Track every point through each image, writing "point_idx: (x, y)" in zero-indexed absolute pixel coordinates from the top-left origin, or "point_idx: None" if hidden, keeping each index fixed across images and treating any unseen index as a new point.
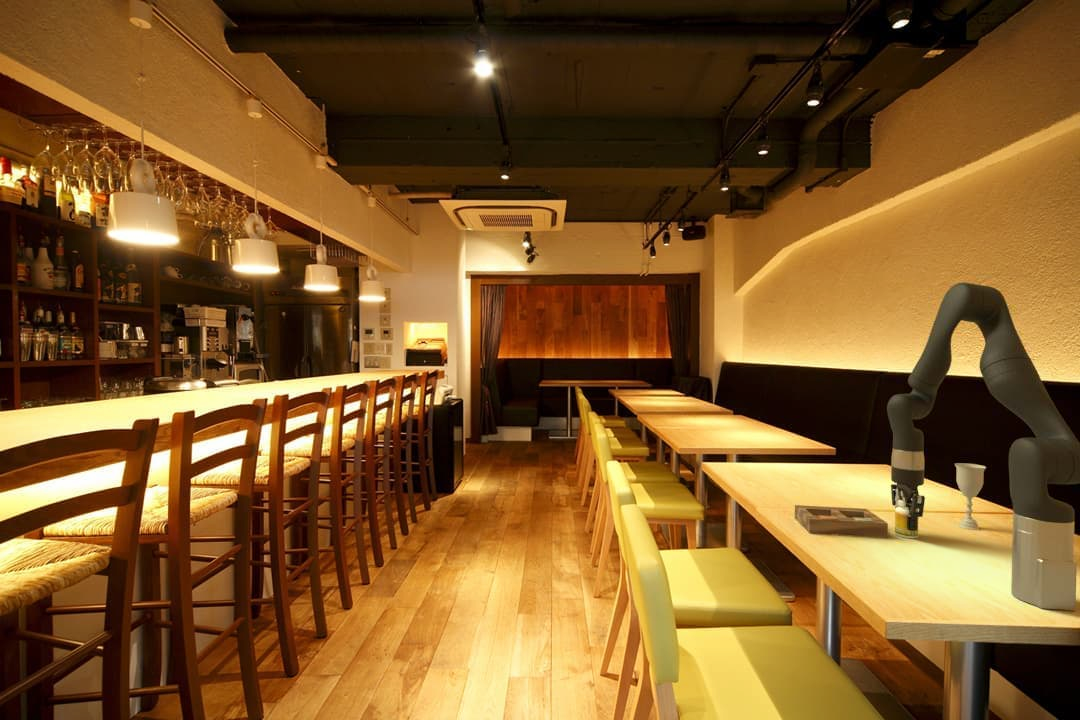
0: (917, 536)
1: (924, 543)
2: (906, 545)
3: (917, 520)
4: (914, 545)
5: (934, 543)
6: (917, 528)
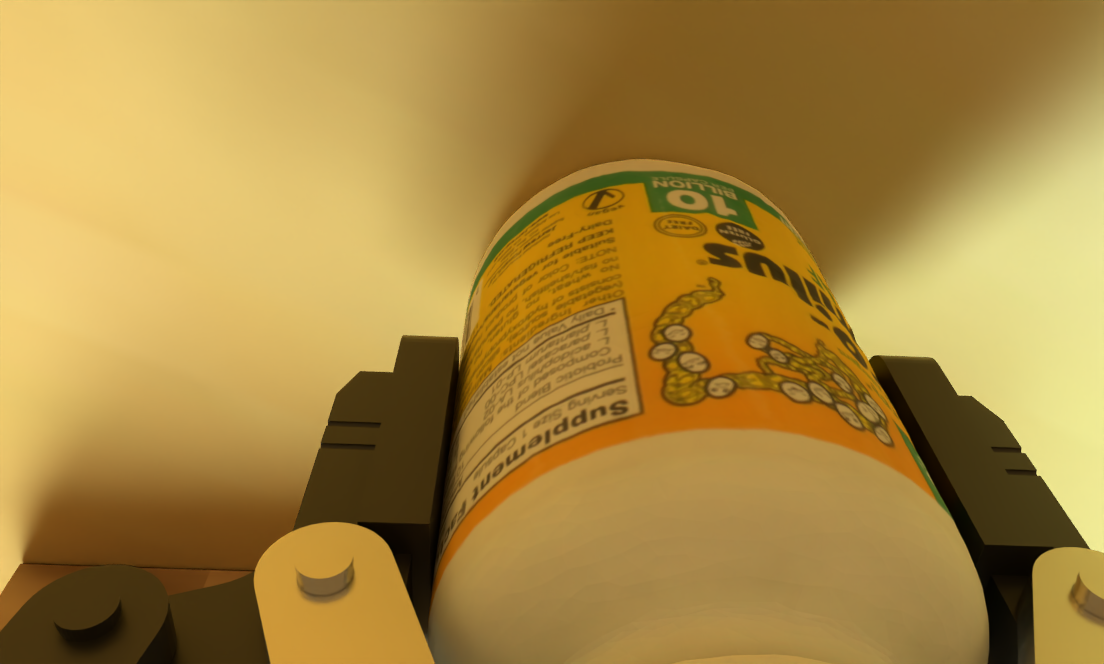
0: (778, 209)
1: (1035, 217)
2: (1081, 505)
3: (890, 408)
4: (1099, 409)
5: (1060, 34)
6: (830, 295)
